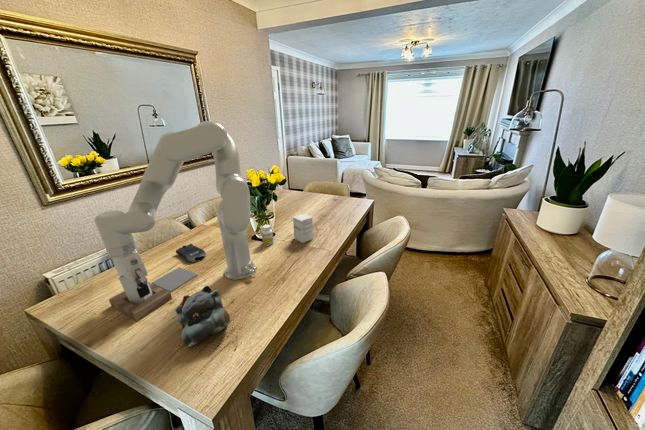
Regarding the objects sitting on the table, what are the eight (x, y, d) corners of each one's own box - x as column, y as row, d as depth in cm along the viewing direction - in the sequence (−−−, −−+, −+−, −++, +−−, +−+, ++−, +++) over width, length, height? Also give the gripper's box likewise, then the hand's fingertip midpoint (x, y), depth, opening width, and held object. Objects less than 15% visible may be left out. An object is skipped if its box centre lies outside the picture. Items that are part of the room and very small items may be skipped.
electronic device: (175, 259, 121) (191, 264, 112) (173, 248, 120) (189, 253, 111) (194, 253, 128) (210, 258, 120) (192, 242, 127) (209, 246, 119)
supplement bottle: (263, 241, 133) (261, 224, 129) (274, 240, 133) (272, 223, 129) (262, 246, 128) (260, 228, 124) (273, 245, 128) (271, 228, 124)
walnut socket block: (172, 298, 92) (170, 292, 91) (137, 321, 82) (134, 314, 81) (146, 286, 99) (144, 280, 98) (111, 306, 89) (108, 299, 88)
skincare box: (154, 297, 93) (145, 269, 88) (146, 306, 88) (136, 277, 84) (138, 297, 93) (127, 269, 88) (129, 306, 89) (117, 277, 84)
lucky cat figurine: (175, 354, 71) (157, 307, 71) (194, 334, 83) (180, 294, 83) (226, 334, 71) (209, 288, 72) (238, 317, 83) (223, 278, 84)
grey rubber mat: (197, 275, 105) (197, 274, 105) (170, 292, 96) (170, 291, 95) (179, 268, 111) (179, 267, 110) (151, 283, 101) (151, 282, 101)
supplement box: (293, 238, 134) (292, 216, 130) (305, 234, 139) (303, 213, 134) (302, 243, 129) (300, 221, 124) (313, 239, 134) (312, 217, 129)
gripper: (149, 248, 81) (164, 293, 88) (120, 238, 89) (136, 279, 96) (123, 260, 75) (141, 306, 82) (94, 248, 83) (113, 291, 90)
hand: (138, 292), depth 89 cm, fingers closed on skincare box, 7 cm apart
